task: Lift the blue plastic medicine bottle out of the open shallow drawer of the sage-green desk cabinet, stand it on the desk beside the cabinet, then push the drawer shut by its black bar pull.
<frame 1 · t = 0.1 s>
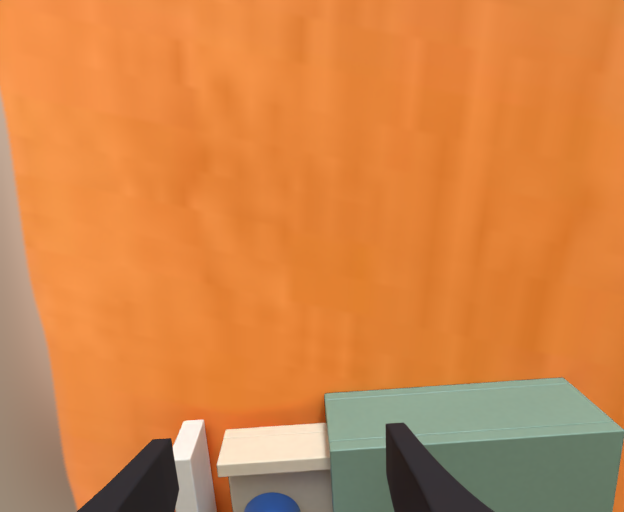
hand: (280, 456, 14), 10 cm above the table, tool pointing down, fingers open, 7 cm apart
cabinet: (441, 478, 26), on the table
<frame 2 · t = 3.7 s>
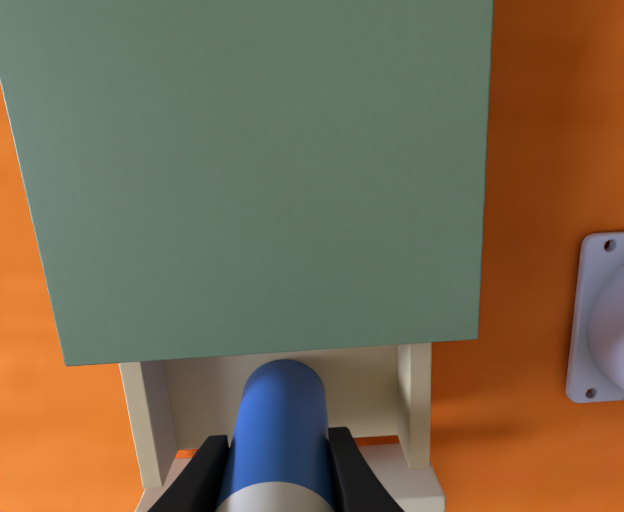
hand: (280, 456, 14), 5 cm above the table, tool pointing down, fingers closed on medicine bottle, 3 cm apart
medicine bottle: (284, 395, 17), point 2 cm above the table, touching drawer, gripper
drawer: (283, 404, 17), point 2 cm above the table, slide at 7.0 cm, touching medicine bottle
cabinet: (266, 128, 16), on the table
when the fingers open (3 cm above the table, at t = 7.6 s): medicine bottle stays where it is, on the table.
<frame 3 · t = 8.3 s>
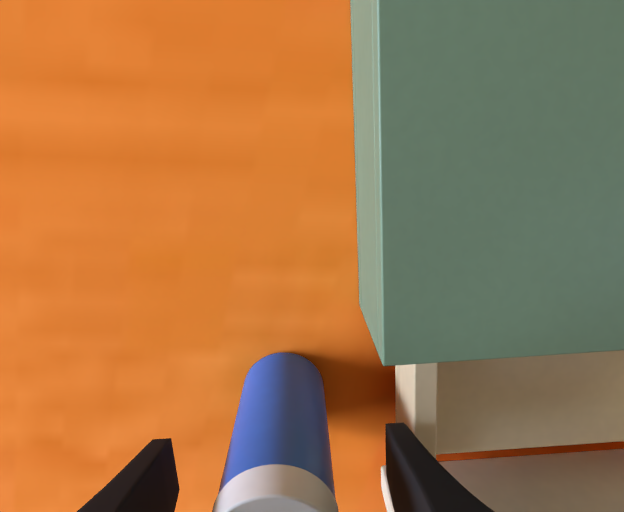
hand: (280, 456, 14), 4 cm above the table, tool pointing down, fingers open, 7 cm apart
medicine bottle: (284, 387, 18), on the table
drawer: (549, 407, 15), point 2 cm above the table, slide at 7.0 cm
cabinet: (535, 111, 15), on the table
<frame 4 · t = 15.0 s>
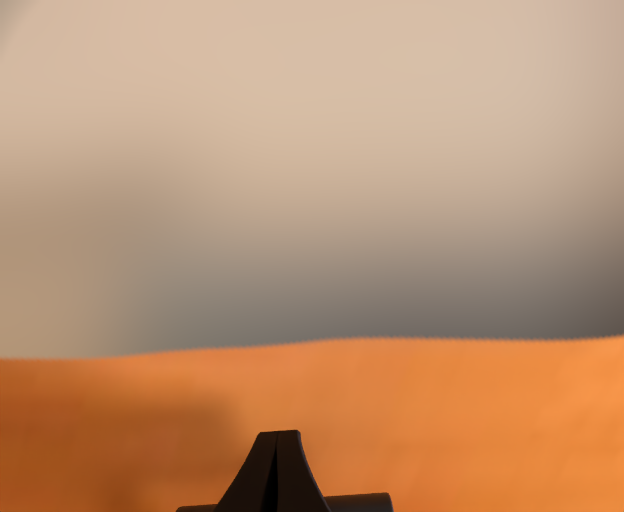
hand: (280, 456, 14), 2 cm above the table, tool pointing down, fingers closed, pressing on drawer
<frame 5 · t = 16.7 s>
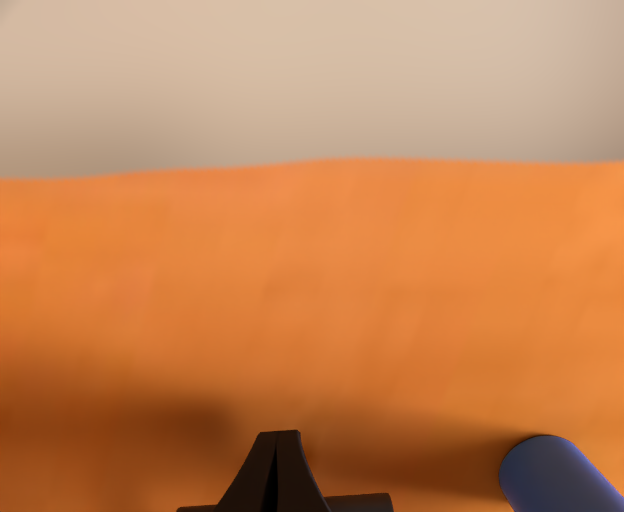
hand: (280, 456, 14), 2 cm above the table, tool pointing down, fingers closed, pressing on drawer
medicine bottle: (540, 471, 16), on the table
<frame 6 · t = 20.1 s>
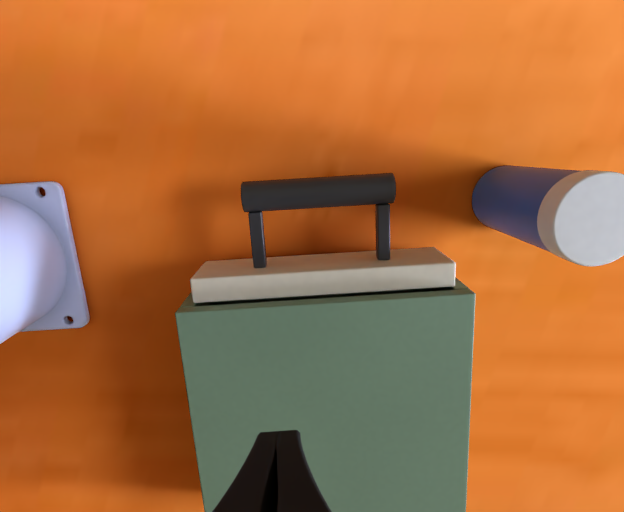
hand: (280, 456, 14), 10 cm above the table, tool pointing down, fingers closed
medicine bottle: (502, 197, 22), on the table
drawer: (326, 347, 22), point 2 cm above the table, slide at 0.0 cm
cabinet: (326, 386, 25), on the table
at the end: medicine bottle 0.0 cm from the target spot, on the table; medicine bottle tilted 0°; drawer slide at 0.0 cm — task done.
